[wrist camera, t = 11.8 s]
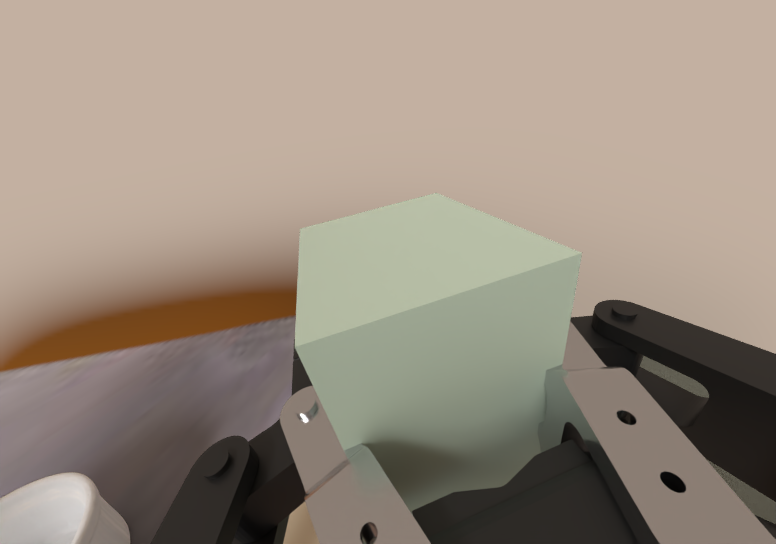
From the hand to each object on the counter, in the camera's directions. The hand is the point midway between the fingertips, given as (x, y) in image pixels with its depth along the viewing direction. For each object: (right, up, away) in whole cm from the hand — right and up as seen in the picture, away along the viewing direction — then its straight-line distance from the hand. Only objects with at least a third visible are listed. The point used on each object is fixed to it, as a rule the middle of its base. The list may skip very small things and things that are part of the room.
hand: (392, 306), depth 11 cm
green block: (+2, -6, +1) cm, 7 cm away
